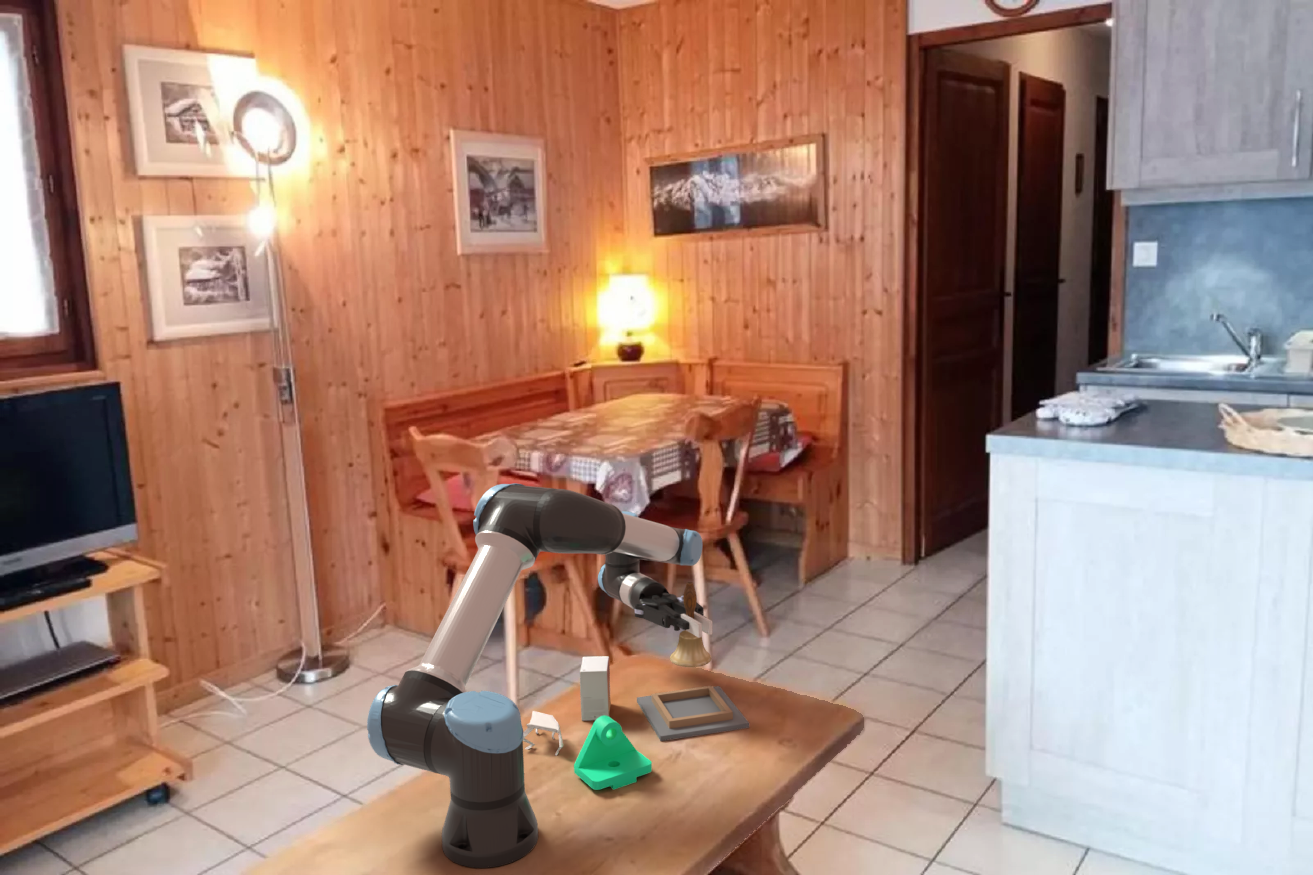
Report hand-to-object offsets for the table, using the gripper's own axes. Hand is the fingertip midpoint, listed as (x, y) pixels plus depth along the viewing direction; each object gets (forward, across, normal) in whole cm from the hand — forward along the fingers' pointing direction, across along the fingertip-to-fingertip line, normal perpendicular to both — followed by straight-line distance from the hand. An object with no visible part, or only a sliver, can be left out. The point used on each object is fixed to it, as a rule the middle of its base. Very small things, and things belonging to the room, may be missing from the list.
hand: (705, 629), depth 200 cm
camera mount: (+8, +25, -20) cm, 33 cm away
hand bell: (-6, 0, -8) cm, 10 cm away
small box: (-17, +16, -20) cm, 31 cm away
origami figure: (-9, +30, -20) cm, 38 cm away
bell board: (-6, 0, -20) cm, 21 cm away
